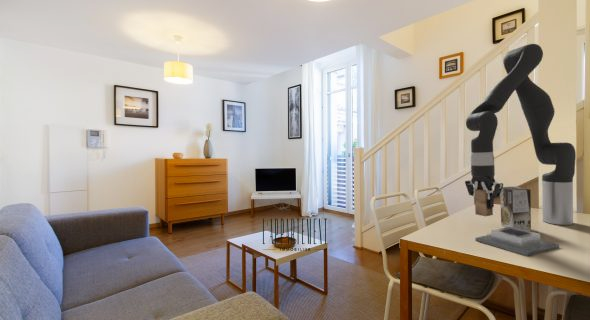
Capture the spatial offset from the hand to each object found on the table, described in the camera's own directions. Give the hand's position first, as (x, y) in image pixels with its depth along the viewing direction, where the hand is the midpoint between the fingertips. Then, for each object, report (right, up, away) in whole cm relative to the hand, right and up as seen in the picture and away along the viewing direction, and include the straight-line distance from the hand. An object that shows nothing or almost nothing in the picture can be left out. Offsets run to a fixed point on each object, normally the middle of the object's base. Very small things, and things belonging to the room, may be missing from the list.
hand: (483, 207), depth 107 cm
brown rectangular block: (0, -3, 0) cm, 3 cm away
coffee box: (+14, -9, +2) cm, 17 cm away
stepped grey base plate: (0, -10, -15) cm, 18 cm away
